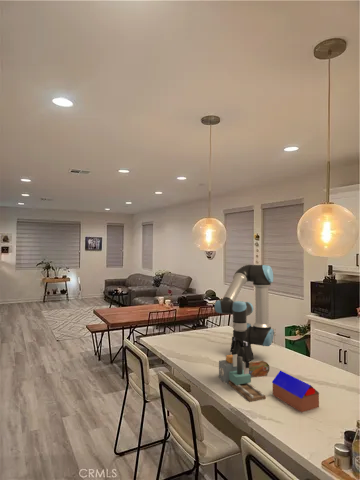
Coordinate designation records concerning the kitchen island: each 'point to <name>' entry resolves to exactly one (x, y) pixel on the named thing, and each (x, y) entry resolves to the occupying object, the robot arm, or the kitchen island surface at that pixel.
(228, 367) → the cabinet
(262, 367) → the tin
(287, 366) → the kitchen island surface
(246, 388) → the rail bed
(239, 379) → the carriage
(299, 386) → the house
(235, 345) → the robot arm
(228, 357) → the button
